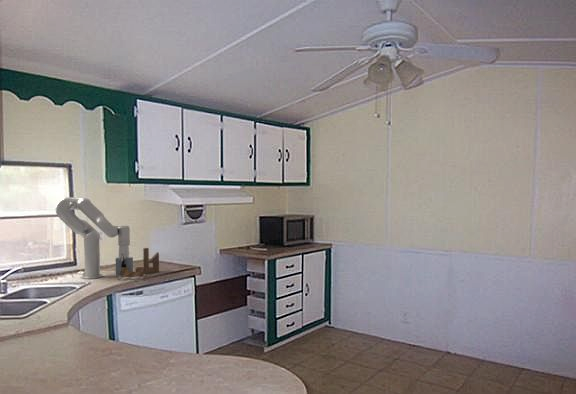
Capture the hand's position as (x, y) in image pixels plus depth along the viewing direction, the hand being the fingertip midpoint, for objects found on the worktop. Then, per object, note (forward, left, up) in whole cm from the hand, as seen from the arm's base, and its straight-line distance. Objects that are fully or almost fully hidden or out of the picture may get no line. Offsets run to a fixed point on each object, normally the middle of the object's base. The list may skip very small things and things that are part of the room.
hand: (124, 268), depth 293 cm
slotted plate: (0, 0, -4) cm, 4 cm away
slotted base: (+8, -11, -4) cm, 14 cm away
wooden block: (+17, +6, -4) cm, 19 cm away
